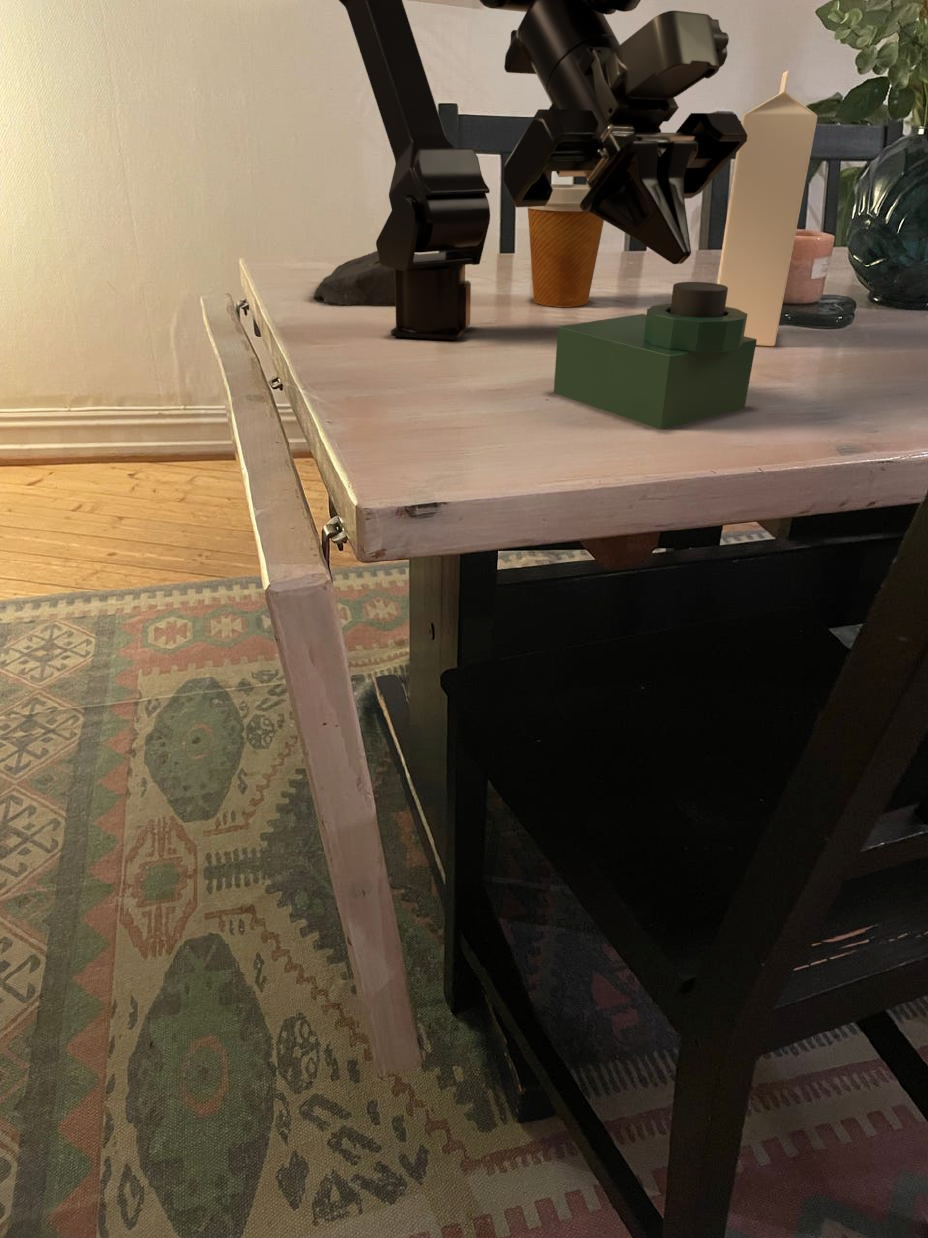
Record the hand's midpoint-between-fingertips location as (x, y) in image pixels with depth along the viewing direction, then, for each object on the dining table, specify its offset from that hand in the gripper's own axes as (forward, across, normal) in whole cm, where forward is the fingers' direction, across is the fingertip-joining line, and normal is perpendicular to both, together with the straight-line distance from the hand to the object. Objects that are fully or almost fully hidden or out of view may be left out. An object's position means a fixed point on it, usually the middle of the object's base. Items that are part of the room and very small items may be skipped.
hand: (683, 259), depth 58 cm
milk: (-1, +24, +16) cm, 29 cm away
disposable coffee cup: (-18, +22, +33) cm, 43 cm away
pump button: (+4, 0, +1) cm, 4 cm away
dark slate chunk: (-31, +9, +46) cm, 56 cm away
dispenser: (+6, 0, +8) cm, 10 cm away
